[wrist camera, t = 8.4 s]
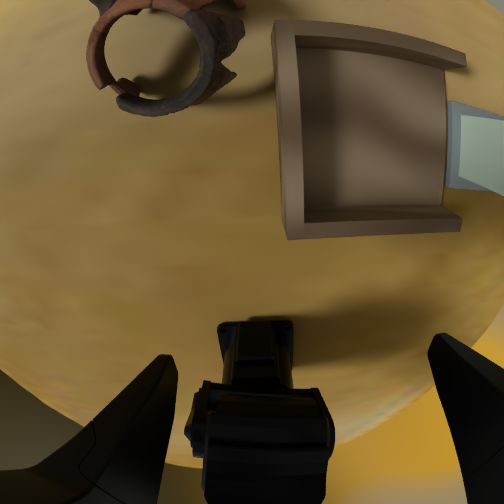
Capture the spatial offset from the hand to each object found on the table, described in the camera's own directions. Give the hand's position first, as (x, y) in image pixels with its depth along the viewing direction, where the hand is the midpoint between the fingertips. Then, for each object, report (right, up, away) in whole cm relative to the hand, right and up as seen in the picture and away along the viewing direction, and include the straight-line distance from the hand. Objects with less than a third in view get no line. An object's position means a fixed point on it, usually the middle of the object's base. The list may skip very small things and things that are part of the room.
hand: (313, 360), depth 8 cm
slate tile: (+17, +12, +8) cm, 22 cm away
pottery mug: (-7, +18, +6) cm, 20 cm away
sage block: (+17, +12, +8) cm, 22 cm away
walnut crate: (+6, +12, +9) cm, 16 cm away
